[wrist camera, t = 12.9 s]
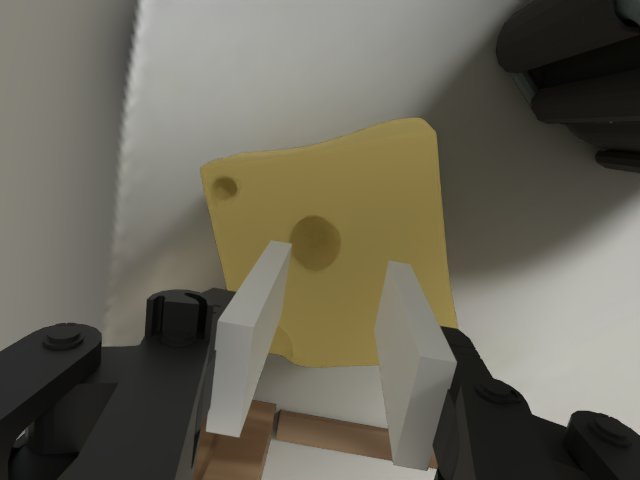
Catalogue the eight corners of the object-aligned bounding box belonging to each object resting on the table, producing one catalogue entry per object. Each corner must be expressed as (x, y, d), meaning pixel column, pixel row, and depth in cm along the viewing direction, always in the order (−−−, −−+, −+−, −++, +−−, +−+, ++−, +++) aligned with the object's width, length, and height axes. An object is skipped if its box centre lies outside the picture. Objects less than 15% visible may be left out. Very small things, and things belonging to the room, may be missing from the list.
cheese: (273, 303, 29) (238, 389, 20) (242, 143, 27) (184, 152, 17) (426, 284, 28) (469, 365, 19) (410, 117, 26) (450, 110, 16)
